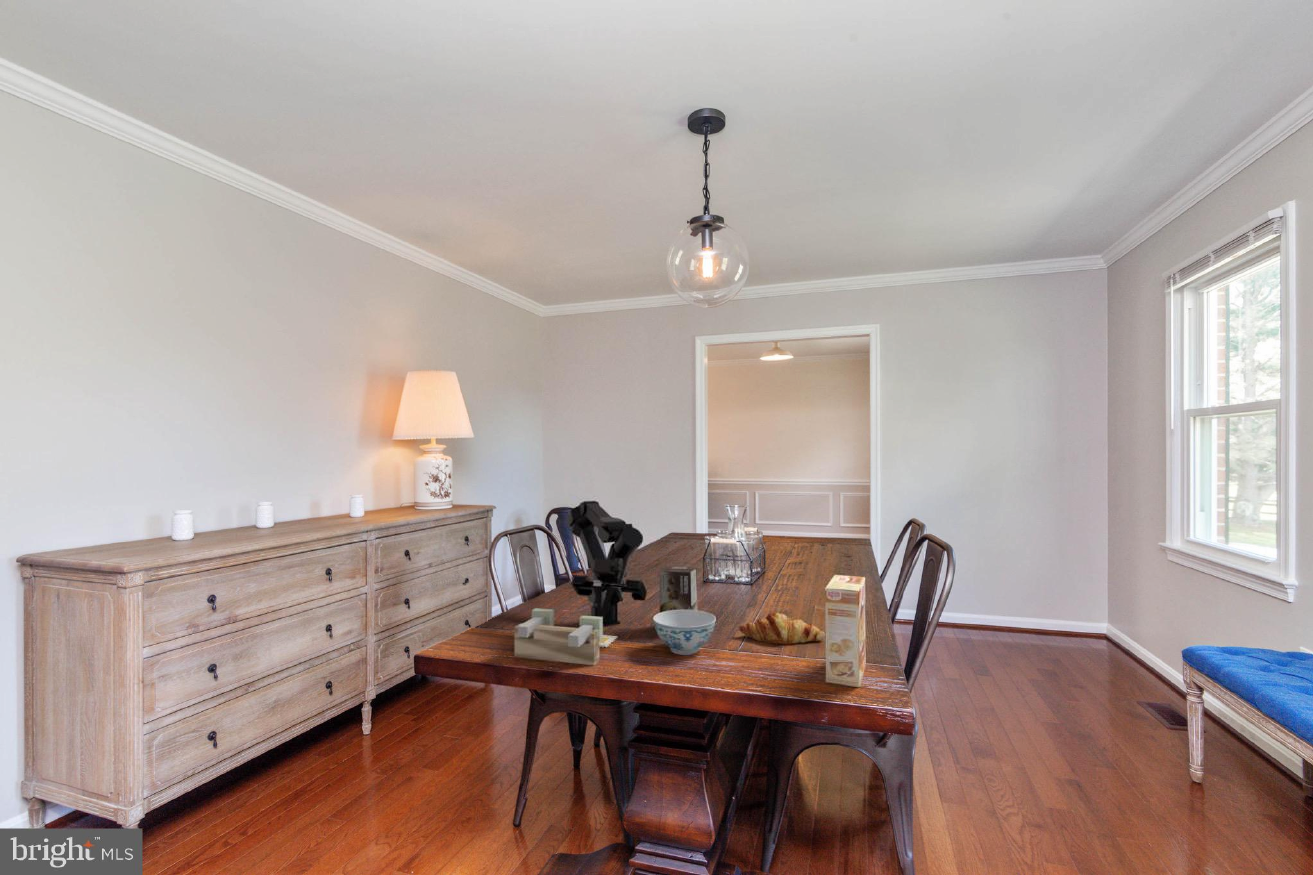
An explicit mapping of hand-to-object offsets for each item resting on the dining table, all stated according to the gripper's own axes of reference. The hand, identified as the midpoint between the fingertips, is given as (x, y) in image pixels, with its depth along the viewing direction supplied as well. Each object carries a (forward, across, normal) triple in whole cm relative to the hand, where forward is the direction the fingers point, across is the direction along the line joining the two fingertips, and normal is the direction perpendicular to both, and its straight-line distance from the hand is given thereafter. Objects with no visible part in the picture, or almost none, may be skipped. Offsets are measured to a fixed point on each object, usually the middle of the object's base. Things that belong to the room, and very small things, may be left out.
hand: (599, 617), depth 151 cm
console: (+12, -6, -2) cm, 14 cm away
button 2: (+10, +1, -5) cm, 11 cm away
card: (+2, -5, +8) cm, 10 cm away
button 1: (+8, -13, -4) cm, 16 cm away
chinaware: (+2, +20, +8) cm, 22 cm away
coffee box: (-9, +14, +20) cm, 26 cm away
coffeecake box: (+5, +58, +5) cm, 58 cm away
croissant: (-8, +41, +19) cm, 46 cm away
